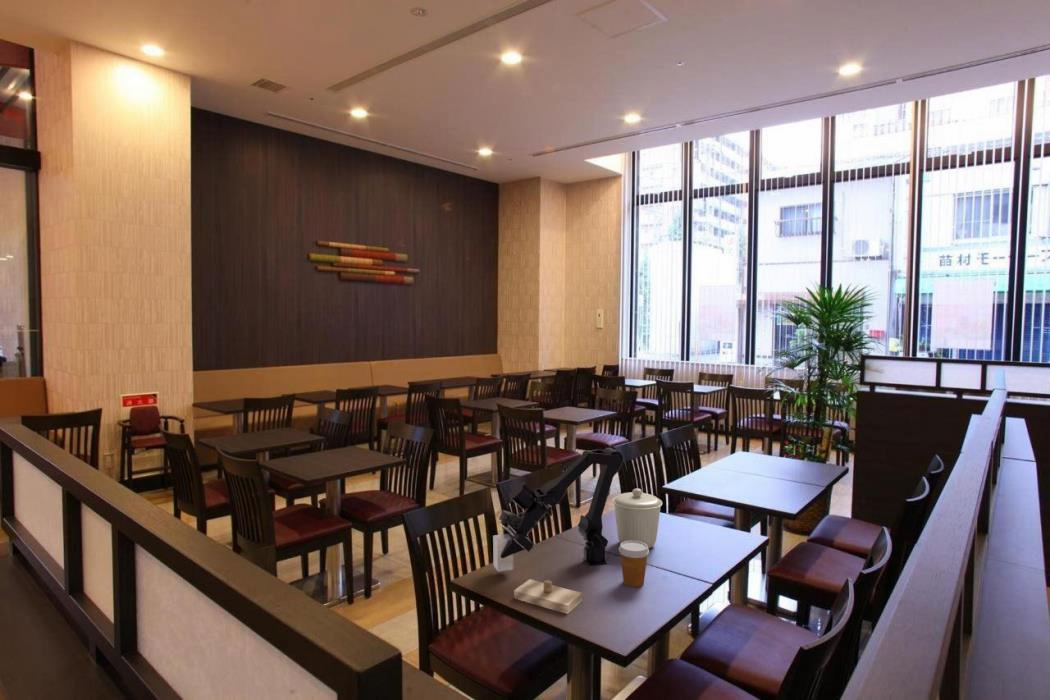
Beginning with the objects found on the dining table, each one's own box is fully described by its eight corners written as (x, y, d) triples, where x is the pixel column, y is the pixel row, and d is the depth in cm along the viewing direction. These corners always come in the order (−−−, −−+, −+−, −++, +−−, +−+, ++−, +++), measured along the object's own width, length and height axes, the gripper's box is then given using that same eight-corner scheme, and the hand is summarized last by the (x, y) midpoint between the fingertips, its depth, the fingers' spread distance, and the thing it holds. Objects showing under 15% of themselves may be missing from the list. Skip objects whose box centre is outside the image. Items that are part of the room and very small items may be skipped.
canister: (671, 544, 220) (672, 488, 219) (644, 558, 207) (644, 499, 206) (630, 532, 233) (630, 479, 232) (602, 545, 220) (602, 488, 219)
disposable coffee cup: (612, 579, 191) (613, 542, 191) (637, 574, 195) (638, 538, 194) (629, 591, 183) (629, 553, 182) (655, 586, 186) (655, 548, 186)
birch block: (514, 598, 179) (514, 580, 178) (529, 587, 186) (529, 569, 186) (567, 614, 169) (567, 595, 169) (581, 601, 177) (581, 583, 176)
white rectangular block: (508, 563, 199) (508, 533, 198) (513, 569, 194) (512, 539, 193) (493, 565, 197) (493, 535, 196) (497, 571, 192) (497, 541, 191)
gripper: (506, 494, 204) (475, 529, 201) (523, 510, 187) (489, 550, 184) (528, 514, 207) (497, 549, 204) (546, 532, 189) (514, 571, 187)
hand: (499, 554), depth 195 cm, fingers closed on white rectangular block, 5 cm apart
